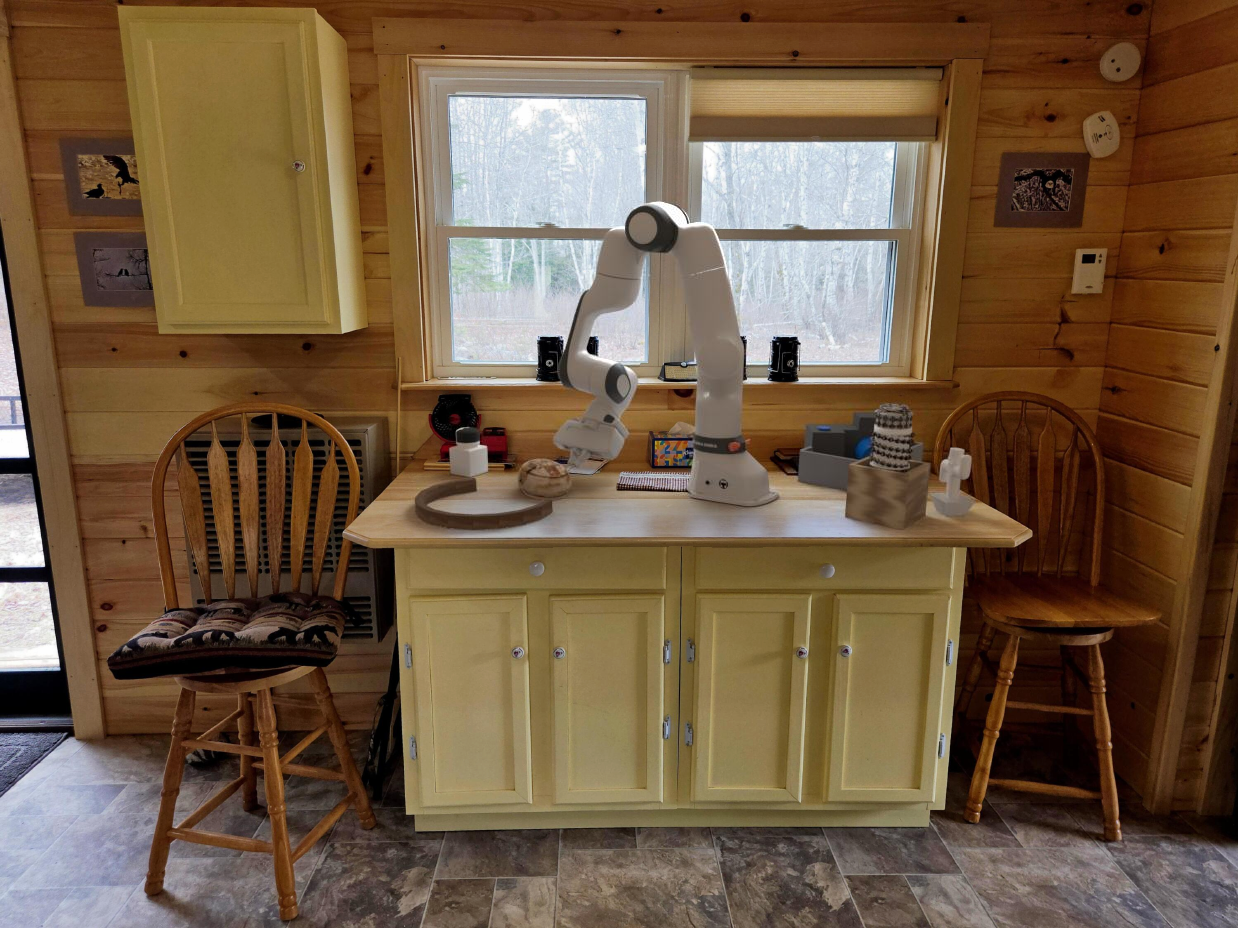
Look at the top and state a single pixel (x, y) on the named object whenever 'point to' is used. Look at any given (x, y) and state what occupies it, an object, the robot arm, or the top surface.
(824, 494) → the top surface
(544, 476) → the trinket box
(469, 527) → the brown curved arc
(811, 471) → the tray
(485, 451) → the medicine bottle
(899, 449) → the decorative candle
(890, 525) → the wooden box
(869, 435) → the camera
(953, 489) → the figurine
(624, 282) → the robot arm
